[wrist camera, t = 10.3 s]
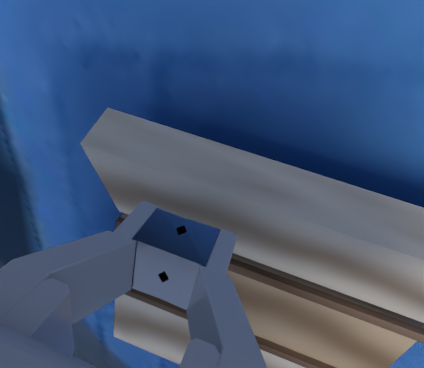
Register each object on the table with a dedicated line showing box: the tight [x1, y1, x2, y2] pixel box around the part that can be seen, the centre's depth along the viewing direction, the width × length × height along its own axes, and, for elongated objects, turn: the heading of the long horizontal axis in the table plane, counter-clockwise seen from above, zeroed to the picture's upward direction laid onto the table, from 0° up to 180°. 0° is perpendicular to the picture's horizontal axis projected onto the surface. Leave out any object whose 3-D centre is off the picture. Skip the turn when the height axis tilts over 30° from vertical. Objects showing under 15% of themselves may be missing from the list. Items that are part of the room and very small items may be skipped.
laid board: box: [115, 213, 424, 368], centre depth 20 cm, size 7×20×3 cm, turn 77°
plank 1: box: [80, 107, 424, 323], centre depth 15 cm, size 7×20×2 cm
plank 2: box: [114, 294, 305, 368], centre depth 24 cm, size 7×20×2 cm, turn 77°
